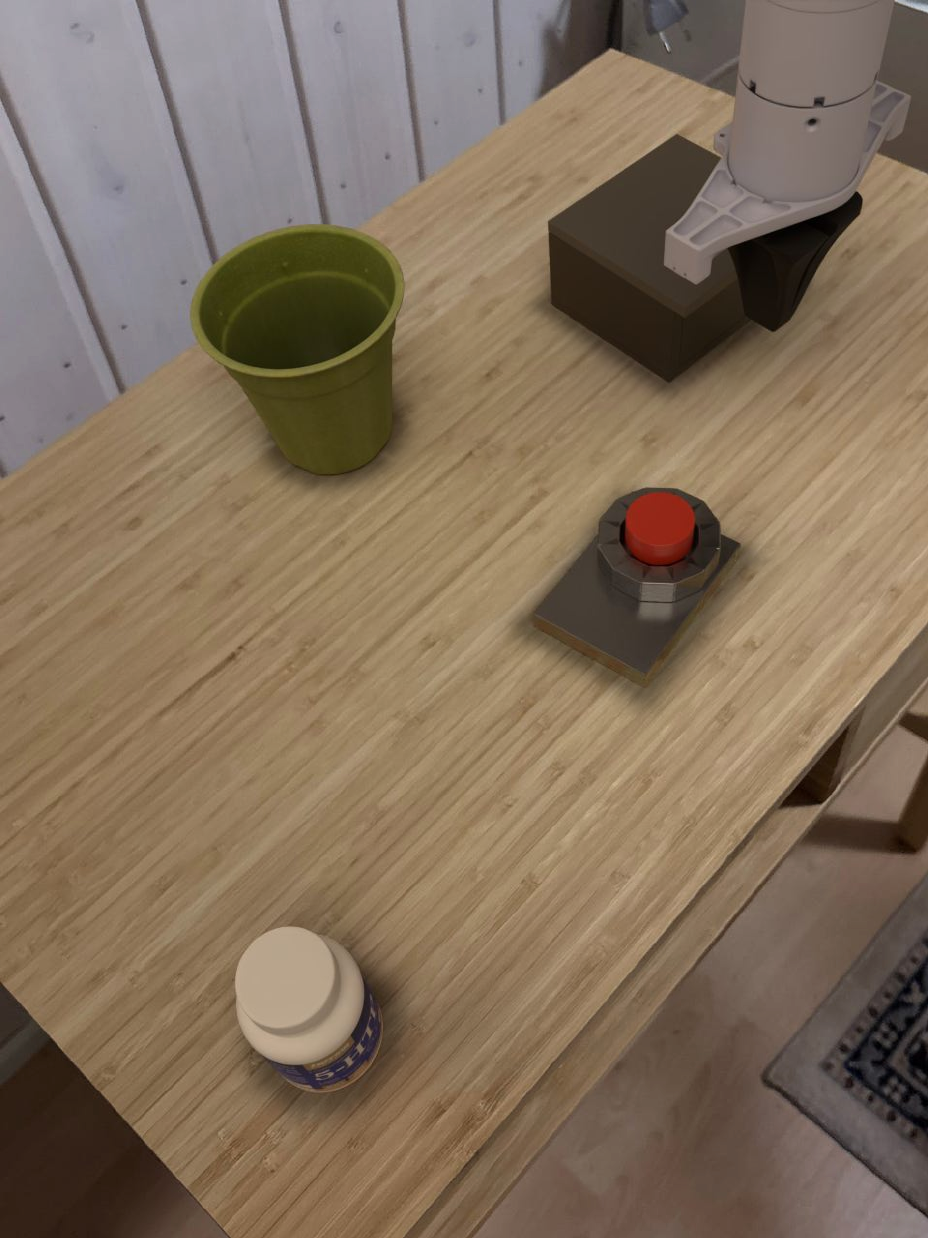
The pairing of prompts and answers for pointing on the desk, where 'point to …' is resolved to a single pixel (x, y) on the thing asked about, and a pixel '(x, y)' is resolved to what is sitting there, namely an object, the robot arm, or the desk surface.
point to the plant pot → (308, 338)
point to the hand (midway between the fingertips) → (767, 316)
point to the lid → (647, 223)
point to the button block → (635, 592)
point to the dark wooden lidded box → (639, 313)
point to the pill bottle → (307, 1009)
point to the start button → (659, 528)
